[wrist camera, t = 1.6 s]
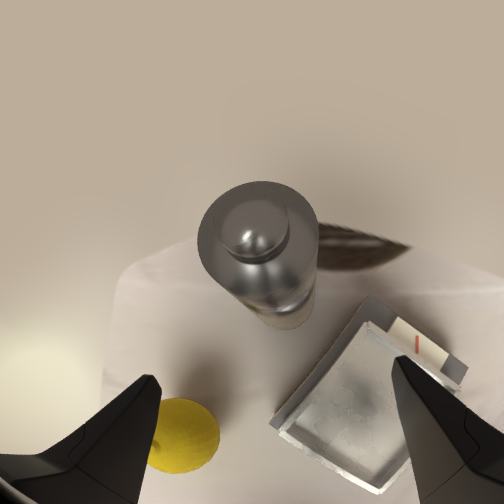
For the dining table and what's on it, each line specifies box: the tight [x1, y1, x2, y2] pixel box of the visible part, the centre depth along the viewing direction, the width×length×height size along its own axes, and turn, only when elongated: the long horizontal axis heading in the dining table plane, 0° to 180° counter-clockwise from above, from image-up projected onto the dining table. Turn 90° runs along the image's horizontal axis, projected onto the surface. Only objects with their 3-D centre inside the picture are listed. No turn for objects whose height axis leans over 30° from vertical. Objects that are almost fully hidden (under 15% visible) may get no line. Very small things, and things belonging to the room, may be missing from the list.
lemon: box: [147, 398, 220, 474], centre depth 16 cm, size 6×6×8 cm
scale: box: [269, 295, 469, 495], centre depth 16 cm, size 10×11×5 cm
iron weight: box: [197, 181, 319, 330], centre depth 15 cm, size 4×4×14 cm
